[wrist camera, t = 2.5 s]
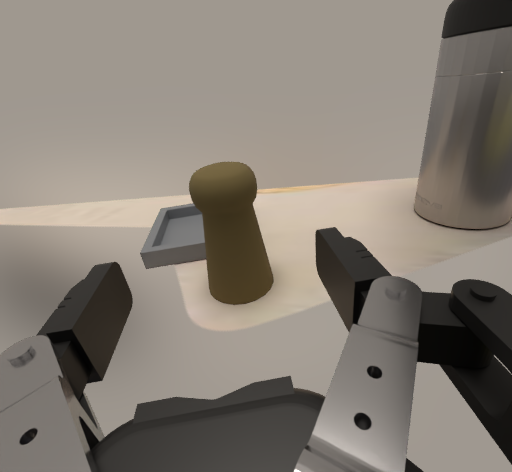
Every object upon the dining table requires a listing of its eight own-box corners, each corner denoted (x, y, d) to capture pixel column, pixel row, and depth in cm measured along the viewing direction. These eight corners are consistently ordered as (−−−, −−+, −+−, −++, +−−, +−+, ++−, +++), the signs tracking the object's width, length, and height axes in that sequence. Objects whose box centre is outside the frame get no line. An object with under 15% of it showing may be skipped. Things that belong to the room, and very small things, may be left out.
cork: (196, 286, 26) (163, 172, 21) (243, 256, 30) (224, 152, 25) (239, 315, 22) (211, 184, 17) (286, 277, 26) (276, 158, 21)
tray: (246, 208, 41) (244, 195, 40) (256, 250, 31) (253, 234, 30) (164, 221, 41) (160, 208, 40) (146, 268, 30) (140, 253, 29)
